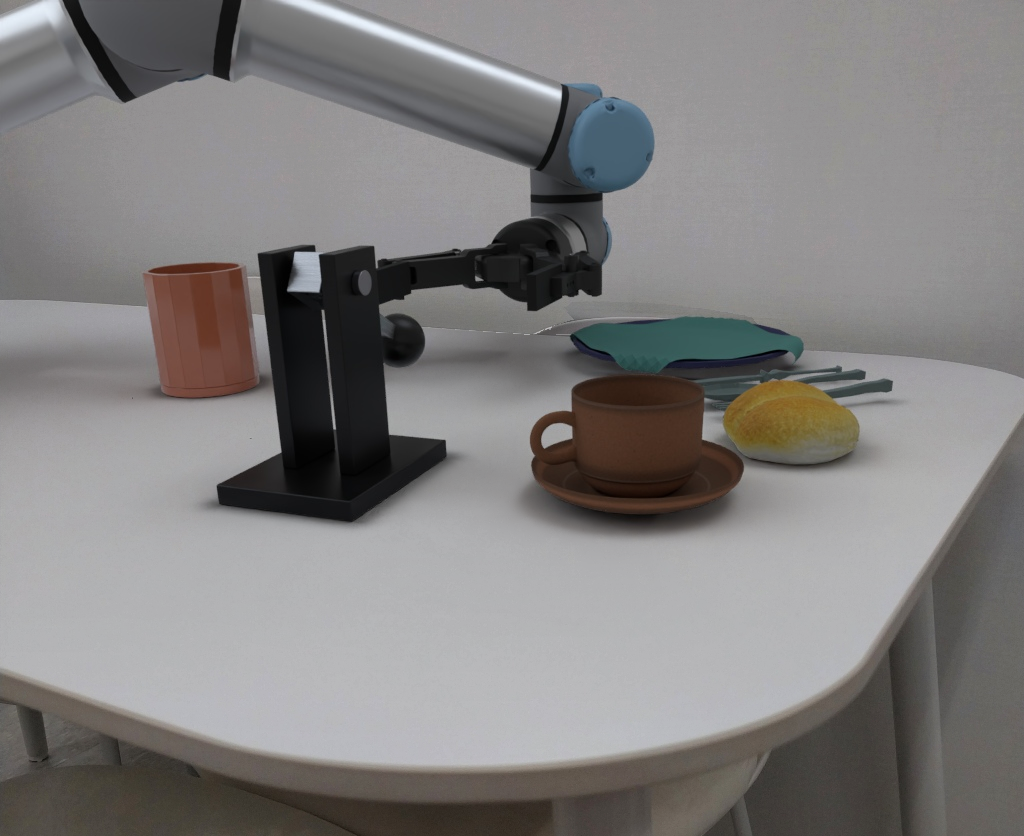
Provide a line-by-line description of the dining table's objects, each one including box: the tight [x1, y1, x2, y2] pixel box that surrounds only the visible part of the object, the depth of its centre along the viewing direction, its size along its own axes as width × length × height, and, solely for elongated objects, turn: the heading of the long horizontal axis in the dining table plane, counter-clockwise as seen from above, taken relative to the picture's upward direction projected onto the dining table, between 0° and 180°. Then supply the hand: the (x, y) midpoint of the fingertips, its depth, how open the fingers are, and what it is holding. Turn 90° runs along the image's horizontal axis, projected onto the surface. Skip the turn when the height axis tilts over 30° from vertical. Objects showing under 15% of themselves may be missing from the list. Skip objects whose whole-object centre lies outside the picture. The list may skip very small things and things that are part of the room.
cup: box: [141, 261, 260, 399], centre depth 82 cm, size 8×8×10 cm
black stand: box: [215, 244, 448, 522], centre depth 57 cm, size 12×9×14 cm
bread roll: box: [722, 379, 861, 465], centre depth 63 cm, size 8×9×4 cm
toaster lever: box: [287, 251, 426, 369], centre depth 60 cm, size 13×4×4 cm
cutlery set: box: [569, 315, 894, 412], centre depth 83 cm, size 20×30×2 cm, turn 16°
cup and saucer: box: [529, 373, 745, 515], centre depth 55 cm, size 12×12×6 cm
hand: (448, 290), depth 75 cm, fingers open, 13 cm apart
